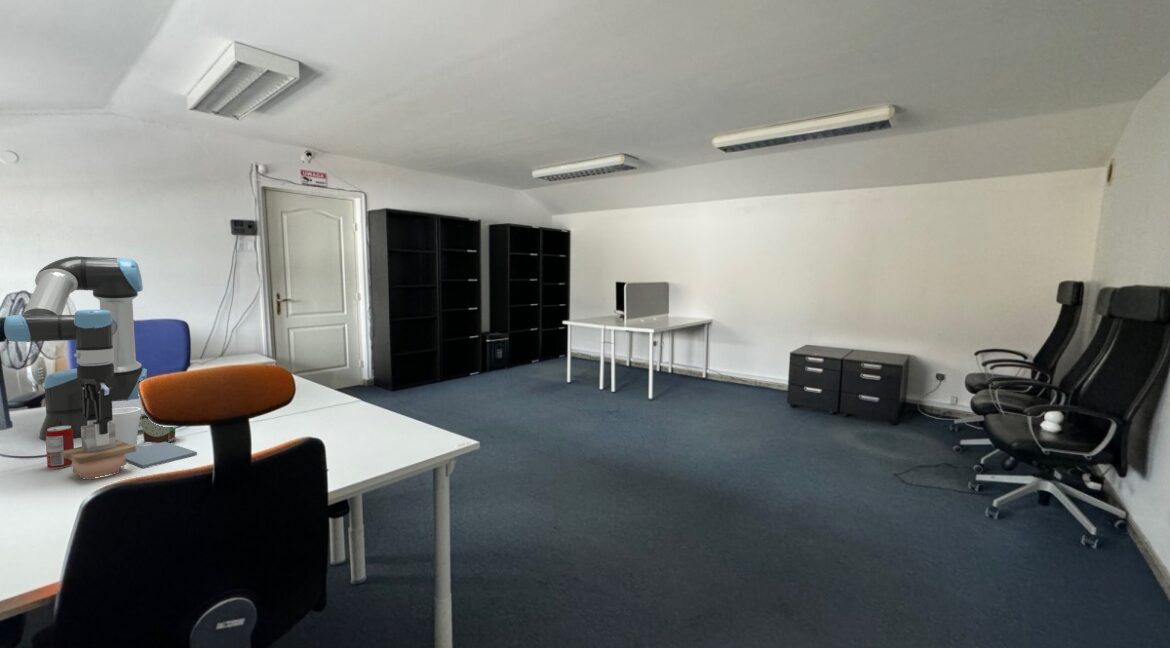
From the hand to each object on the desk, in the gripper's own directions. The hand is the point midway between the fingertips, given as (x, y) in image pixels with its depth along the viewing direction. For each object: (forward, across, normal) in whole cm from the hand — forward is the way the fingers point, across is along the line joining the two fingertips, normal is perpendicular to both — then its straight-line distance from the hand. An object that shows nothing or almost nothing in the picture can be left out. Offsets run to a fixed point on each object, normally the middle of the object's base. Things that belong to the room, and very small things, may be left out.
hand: (98, 443), depth 141 cm
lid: (+3, 0, 0) cm, 3 cm away
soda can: (+9, -17, -3) cm, 20 cm away
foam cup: (+9, -21, +13) cm, 26 cm away
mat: (+9, -5, +15) cm, 18 cm away
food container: (+9, -20, +24) cm, 33 cm away
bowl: (+9, 0, 0) cm, 9 cm away
